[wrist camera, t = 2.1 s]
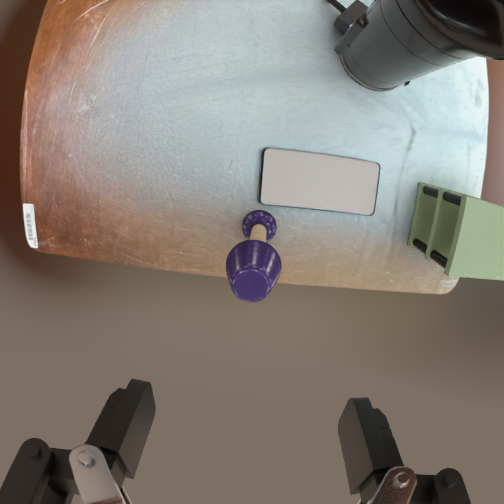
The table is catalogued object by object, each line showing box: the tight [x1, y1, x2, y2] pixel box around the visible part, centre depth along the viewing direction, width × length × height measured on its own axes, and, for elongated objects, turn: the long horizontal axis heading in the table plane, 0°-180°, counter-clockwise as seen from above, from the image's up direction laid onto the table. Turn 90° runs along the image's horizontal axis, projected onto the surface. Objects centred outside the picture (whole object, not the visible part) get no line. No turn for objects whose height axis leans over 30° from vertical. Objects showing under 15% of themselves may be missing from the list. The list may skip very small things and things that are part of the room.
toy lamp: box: [226, 210, 281, 302], centre depth 29 cm, size 5×5×17 cm
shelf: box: [407, 182, 504, 280], centre depth 30 cm, size 12×9×11 cm
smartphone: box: [258, 148, 380, 216], centre depth 34 cm, size 7×1×15 cm
